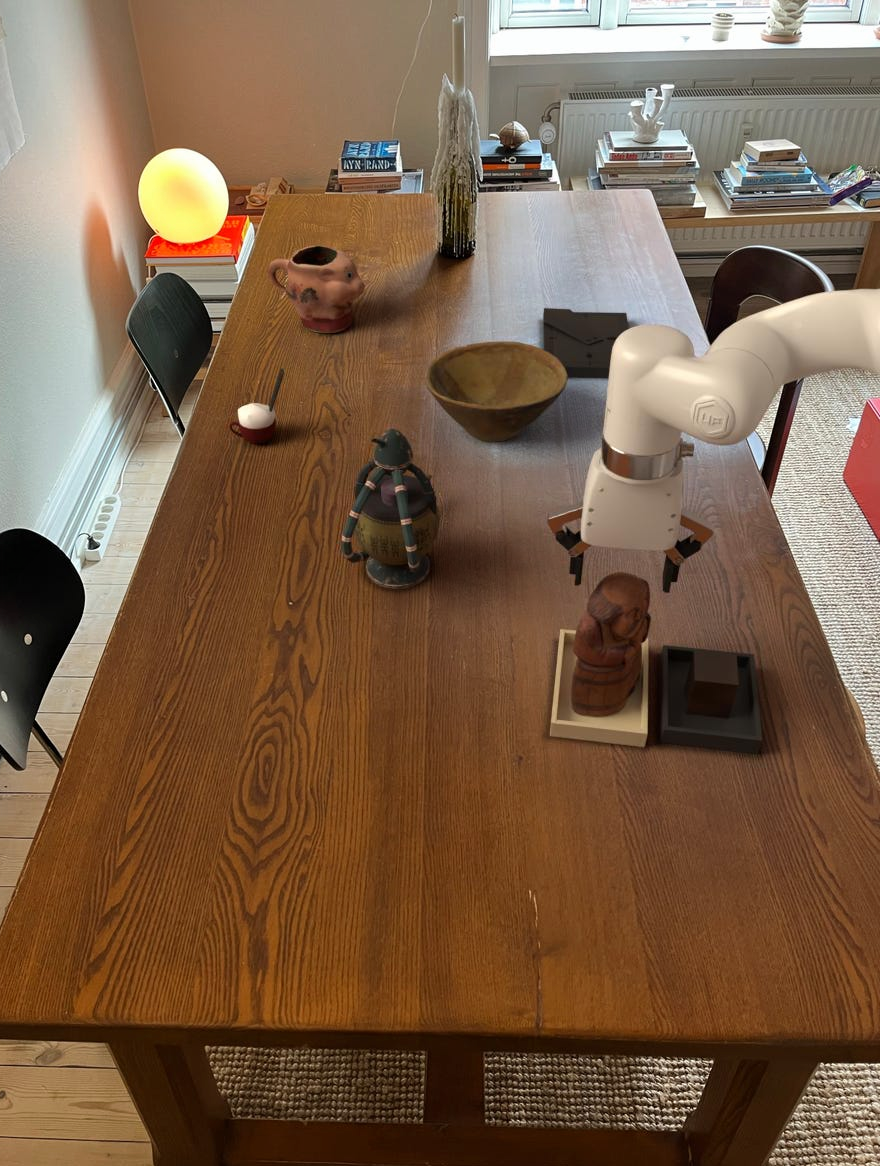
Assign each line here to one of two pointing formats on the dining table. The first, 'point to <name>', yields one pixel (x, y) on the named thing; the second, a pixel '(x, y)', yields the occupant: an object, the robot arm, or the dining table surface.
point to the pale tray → (609, 729)
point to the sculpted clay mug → (320, 287)
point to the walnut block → (711, 684)
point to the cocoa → (258, 418)
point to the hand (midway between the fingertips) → (621, 581)
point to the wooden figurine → (610, 645)
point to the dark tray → (704, 730)
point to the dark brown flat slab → (582, 339)
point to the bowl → (496, 386)
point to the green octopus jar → (392, 516)
